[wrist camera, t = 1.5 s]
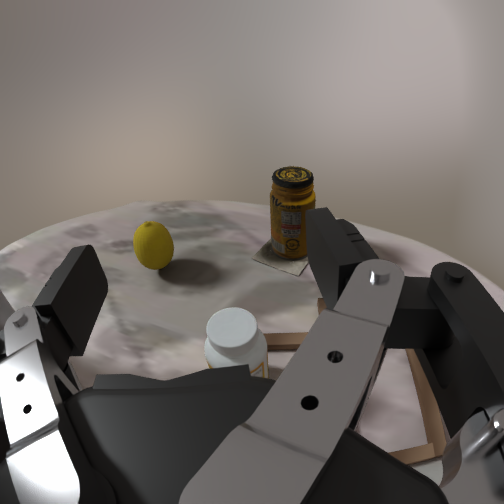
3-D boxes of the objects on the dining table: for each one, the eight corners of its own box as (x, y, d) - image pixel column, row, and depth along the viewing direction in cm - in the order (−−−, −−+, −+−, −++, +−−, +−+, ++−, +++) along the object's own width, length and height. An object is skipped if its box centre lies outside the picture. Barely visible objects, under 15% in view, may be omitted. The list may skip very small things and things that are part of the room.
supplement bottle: (257, 413, 27) (250, 364, 21) (207, 395, 29) (184, 343, 23) (276, 368, 31) (275, 309, 25) (229, 354, 33) (215, 294, 27)
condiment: (322, 242, 47) (327, 169, 39) (298, 276, 41) (300, 196, 34) (280, 229, 50) (278, 159, 42) (251, 260, 45) (244, 183, 37)
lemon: (168, 250, 47) (156, 206, 42) (185, 268, 44) (173, 221, 39) (137, 267, 45) (121, 222, 40) (151, 287, 41) (134, 240, 36)
